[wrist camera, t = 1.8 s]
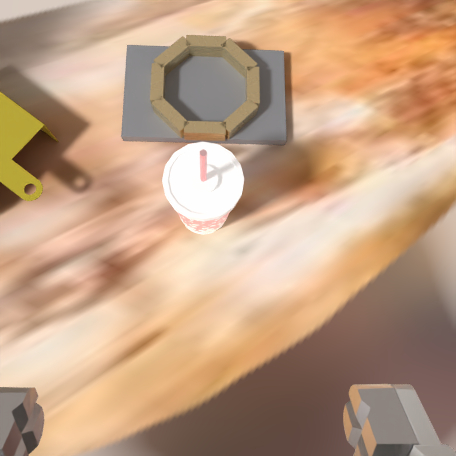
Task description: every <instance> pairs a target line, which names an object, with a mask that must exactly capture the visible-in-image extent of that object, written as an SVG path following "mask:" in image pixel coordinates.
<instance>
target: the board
mask: <svg viewBox="0 0 456 456" xmlns="http://www.w3.org/2000/svg"><path fill="white" fill-rule="evenodd" d="M168 48H169V47H167V46H140V45H127V56H126V71H125V87H124V103H123V118H122V134H121V137H122V139H123V141H150V142H189V143H198V142H208V143H229V144H268V145H285V143H286V109H285V77H284V51H274V50H247V49H242V50H243V51H244V52H245V53H246V54H248V55H249V56H250V57H251V58H252V59H253V60H254V61H255V62H256V63H257V67H259V87H260V104H259V108H258V111H257V114H256V115H255V116H254V117H253V118H252V119H251V120H250V121H249V122H247V123H246V124H245V125H244V126H243V127H242V128H241V129H240V130H239V131H237V132H236V133H235V134H234V135H233V136H232V137H231V138H230V139H229V140H228V139H227V138H226V137H225V141H206V140H185V139H184V136H183V137H182V138H180V137H179V136H178V135H177V134H176V133H175V132H174V131H173V130H172V129H171V128H170V127H169V126H168V125H167V124H166V123H165V122H164V121H163V120H162V119H161V118H160V117H159V116H157V115H156V114H155V113H154V112H153V108H152V106H151V102H150V90H151V69H152V63H154V59H155V58H157V57H158V56H159V55H160V54H161V53H163V52H164V51H165V50H166V49H168ZM165 100H166V101H167V102H168V103H169V104H170V105H171V106H172V107H173V108H175V109H176V110H177V111H178V112H179V113H180V114H181V115H182V116H183V117H184V118H185V119H186V120H187V121H211V122H223V121H224V120H225V119H226V118H227V117H229V116H230V115H231V114H232V113H233V112H234V111H235V110H236V109H238V108H239V107H240V106H241V105H242V104H243V103H244V102H245V101H246V94H245V78H244V77H243V76H242V75H241V74H240V73H239V72H238V71H237V70H236V69H235V68H233V67H232V66H231V65H230V64H229V63H228V62H227V61H226V60H225V59H224V58H223V57H203V56H189V57H188V58H187V59H186V60H184V61H183V62H182V63H181V64H180V65H178V66H177V67H176V68H175V69H173V70H172V71H171V72H170V73H169V74H167V75H166V82H165Z"/></svg>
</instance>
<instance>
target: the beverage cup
mask: <svg viewBox="0 0 456 456" xmlns="http://www.w3.org/2000/svg"><path fill="white" fill-rule="evenodd" d="M162 181H163V186H164V191H165V196H166V198H167V199H168V201H169V202H170V204H171V205H172V206H173V208H174V209H175V211H177V212H178V214H179V216H180V218H181V220H182V222H183V223H184V225H185V226H186V227H187V228H188V229H189V230H191V231H193V232H194V233H198V234H209V233H213V232H215V231H216V230H218V229H219V228H221V227H222V225H223V224H224V222H225V221H226V219H227V217H228V215H229V213H230V211H231V210H233V208H234V207H235V205H236V203H237V202H238V200H239V199H240V197H241V195H242V190H243V184H244V176H243V172H242V168H241V164H240V163H239V162H238V160H237V159H236V158H235V156H234V155H233V154H232V152H230V151H228V150H227V149H225V148H223V147H222V146H220V145H219V144H214V143H208V142H198V143H193V144H187V145H186V146H184V147H183V148H181V149H179V150H178V151H176V152H175V153H174V154H173V155H172V157H171V158H170V159H169V161H168V162H167V164H166V165H165V170H164V174H163V179H162Z"/></svg>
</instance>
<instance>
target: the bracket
mask: <svg viewBox="0 0 456 456" xmlns="http://www.w3.org/2000/svg"><path fill="white" fill-rule="evenodd" d="M40 129H41V130H43V131H44V132H45V133H47V134H48V135H49V136H51V137H52V138H53V139H55V140H56V141H57V142H58V140H57V139H56V138H55V137H54V135H53V134H52V133H51V132H50V131H49V129H48V128H47V127H46V126H45V124H43V123H42V122H41V121H39V120H38V119H37V118H35V117H34V116H32V115H31V114H30V113H28V112H27V111H26V110H24V109H23V108H22V107H20V106H19V105H18V104H16V103H15V102H14V101H12V100H11V99H10V98H8V97H7V96H6V95H4V94H3V93H2V92H0V182H1V183H3V184H4V185H5V186H6V187H8V188H9V189H10V190H12V191H13V192H14V193H15V194H17V195H18V196H19V197H21V198H22V199H23V200H26V201H33V200H35V199H37V198H38V197H39V196H40V195H41V194H42V191H43V186H42V184H41V182H40V181H39V180H38V179H36V178H35V177H34V176H32V175H31V174H30V173H29V172H27V171H26V170H25V169H23V168H22V167H21V166H19V165H18V164H17V163H15V162H14V161H13V160H12V159H13V158H14V157H15V156H16V154H17V153H18V152H19V151H20V150H21V149H22V148H23V147H24V146H25V145H26V144H27V143H28V142H29V141H30V140H31V139H32V138H33V137H34V136H35V135H36V133H37V132H38V131H39V130H40ZM28 184H34V185H35V186H36V192H35V193H34V194H32V195H27V194H26V193H25V192H24V188H25V186H26V185H28Z"/></svg>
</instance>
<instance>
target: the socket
mask: <svg viewBox="0 0 456 456" xmlns="http://www.w3.org/2000/svg"><path fill="white" fill-rule="evenodd" d="M189 56H203V57H223V58H224V59H225V60H226V61H227V62H228V63H229V64H230V65H231V66H232V67H233V68H235V69H236V70H237V71H238V72H239V73H240V74H241V75H242V76H243V77H244V78H245V94H246V101H245V102H244V103H243V104H242V105H241V106H240V107H239V108H238V109H236V110H235V111H234V112H233V113H232V114H231V115H230V116H229V117H227V118H226V119H225V120H224V121H223V122H211V121H187V120H186V119H185V118H184V117H183V116H182V115H181V114H180V113H179V112H178V111H177V110H176V109H175V108H173V107H172V106H171V105H170V104H169V103H168V102H167V101H166V100H165V82H166V75H167V74H169V73H170V72H171V71H172V70H173V69H175V68H176V67H177V66H178V65H180V64H181V63H182V62H183V61H184V60H186V59H187V58H188V57H189ZM150 102H151V106H152V108H153V112H154V113H155V114H156V115H157V116H159V117H160V118H161V119H162V120H163V121H164V122H165V123H166V124H167V125H168V126H169V127H170V128H171V129H172V130H173V131H174V132H175V133H176V134H177V135H178V136H179V137H180V138H182V137H183V136H184V139H185V140H206V141H225V137H226V138H227V139H228V140H229V139H230V138H231V137H232V136H233V135H234V134H235V133H236V132H237V131H239V130H240V129H241V128H242V127H243V126H244V125H245V124H246V123H247V122H249V121H250V120H251V119H252V118H253V117H254V116H255V115H256V114H257V111H258V108H259V104H260V87H259V67H257V63H256V62H255V61H254V60H253V59H252V58H251V57H250V56H249V55H248V54H246V53H245V52H244V51H243V50H242V49H241V48H240V47H239V46H238V45H237V44H236V43H234V42H233V41H232V40H231V39H230V38H229V39H228V40H226V37H225V36H200V35H186V39H185V38H184V37H181V38H180V39H179V40H178V41H176V42H175V43H174V44H173V45H171V46H170V47H169V48H168V49H166V50H165V51H164V52H163V53H161V54H160V55H159V56H158V57H157V58H155V59H154V63H152V69H151V90H150Z"/></svg>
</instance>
